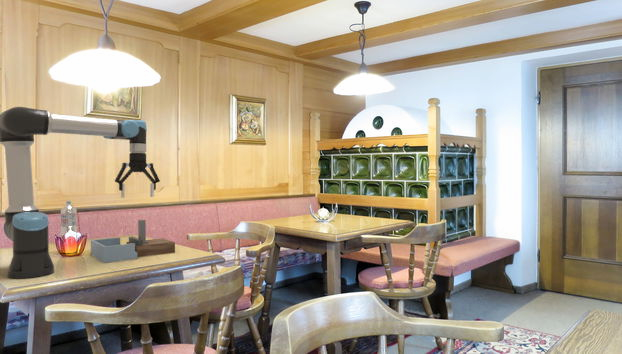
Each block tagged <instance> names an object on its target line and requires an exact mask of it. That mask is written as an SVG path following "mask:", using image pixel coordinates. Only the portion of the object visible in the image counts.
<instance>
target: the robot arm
mask: <svg viewBox="0 0 622 354" xmlns="http://www.w3.org/2000/svg"><path fill="white" fill-rule="evenodd" d="M48 134H64V135H69V134H70V135H82V136H83V135H84V136H95V137H96V136H99V137H103V138H104V139H107V140H108V139H109V140H125V141H126V140H127V141H129V151H128V152H130V153H129V154H128V155H129V161H128V162H127V163H126V162H122V164H121V168H120V170H119V171H118V173H117V175H116V177H115V179H114V182H115V183H118V190H119V191H120V192H121V193H120V197H121V198H122V199H125V189H126V188H125V183H124V182H125V181H126V180H127V179H128V178H129V177H130V175H131V174H132V173H143V174H144V175H145V177H147V178H148V180H149V181H150V182H151V183H150V191H149V192H150V193H149V194H150V195H149V196H150V197H151V198H154V197H155V194H154V193H155V191H156V189H157V188H156V186H157V185H156V184H157V183H159V182H160V181H161V180H160V178H159V176H158V173H157V172H156V169H155V168H154V163H152V162H149V163H147V153H146V152H147V122H146V121H145V120H140V119H126V120H123V119H114V118H113V119H112V118H104V117H103V118H101V117H92V116H82V115H81V116H79V115H72V114H71V115H69V114H59V113H51V112H50V111H49V110H45V109H37V108H32V107H26V106H14V107H11V108H9V109H6V110H5V111H3V112H1V113H0V144H1V145H2V146H3V147H4V151H5V152H4V154H5V168H6V182H7V196H8V198H7V199H8V208H6V209H5V210H4V220H5V222H4V223H3V231H4V234H5V236H6V237H7V238H8V239H9V240H11V241H12V258H11V261H10V264H9V265H8V269H7V277H8V278H10V279H30V278H39V277H43V276H49V275H50V274H53V273H55V265H54V263H53V262H54V261H53V260H52V258H51V255H50V251H49V248H50V247H49V242H50V241H49V224H50V223H49V222H50V221H49V216H48V214H46V213H44V212H39V211H40V210H39V207H38V206H36V204H35V200H34V185H33V183H34V181H33V169H32V155H31V154H32V153H31V146H32V145H34V143H35V135H36V136H37V135H39V136H40V135H42V136H47V135H48ZM128 167H129V169H128V171H127V172H125V170H126V168H128ZM146 168H149V171H150V172H151V174H150V173H149V172H148V170H147V169H146ZM124 172H125V174H124ZM122 176H123V177H122Z"/></svg>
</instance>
